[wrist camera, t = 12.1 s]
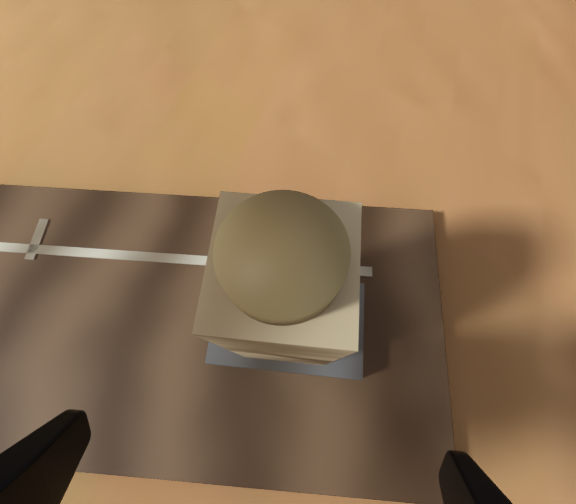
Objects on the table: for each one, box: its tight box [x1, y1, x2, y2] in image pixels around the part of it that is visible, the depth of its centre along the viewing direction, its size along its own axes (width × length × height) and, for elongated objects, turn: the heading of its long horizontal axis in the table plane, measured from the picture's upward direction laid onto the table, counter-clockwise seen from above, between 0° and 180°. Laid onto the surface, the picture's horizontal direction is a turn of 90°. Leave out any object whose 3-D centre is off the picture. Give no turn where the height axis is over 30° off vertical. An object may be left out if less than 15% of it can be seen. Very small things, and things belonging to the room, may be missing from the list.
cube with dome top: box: [192, 190, 364, 380], centre depth 13 cm, size 8×5×12 cm, turn 84°
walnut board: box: [0, 185, 455, 504], centre depth 20 cm, size 34×16×1 cm, turn 86°
